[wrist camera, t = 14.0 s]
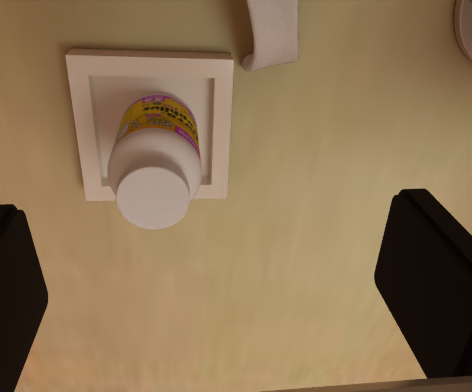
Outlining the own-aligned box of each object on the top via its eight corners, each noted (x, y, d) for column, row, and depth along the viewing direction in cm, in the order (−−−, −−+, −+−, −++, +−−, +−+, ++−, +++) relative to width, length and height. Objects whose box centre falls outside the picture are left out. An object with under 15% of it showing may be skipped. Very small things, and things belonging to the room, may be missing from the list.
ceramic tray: (230, 53, 36) (234, 59, 34) (223, 185, 43) (226, 198, 40) (71, 48, 34) (65, 55, 32) (90, 187, 41) (86, 200, 39)
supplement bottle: (210, 115, 38) (226, 184, 27) (173, 172, 40) (174, 256, 29) (143, 75, 35) (129, 133, 24) (108, 138, 38) (81, 217, 27)
